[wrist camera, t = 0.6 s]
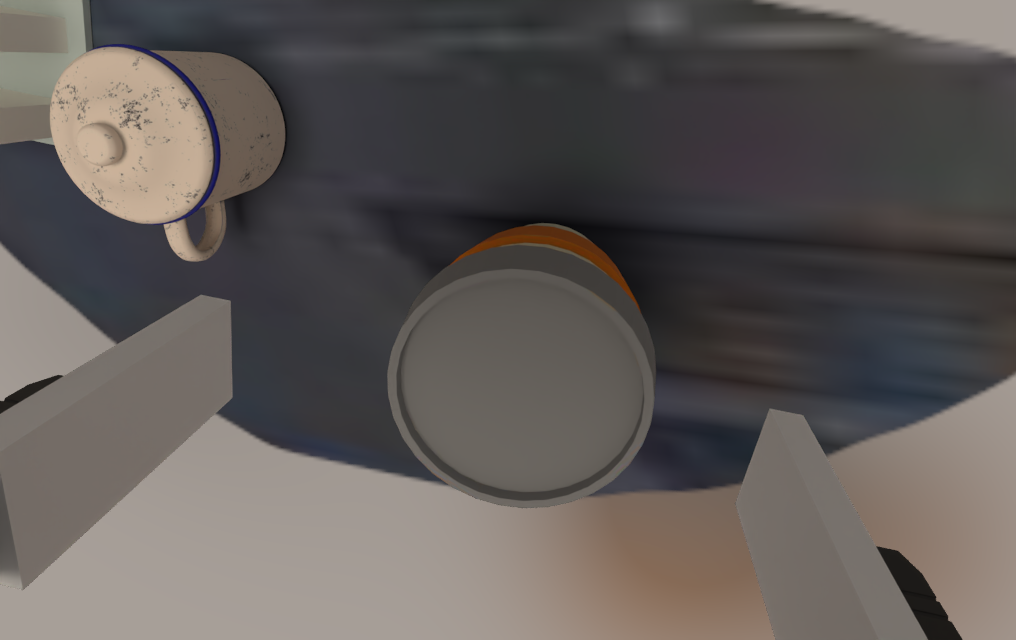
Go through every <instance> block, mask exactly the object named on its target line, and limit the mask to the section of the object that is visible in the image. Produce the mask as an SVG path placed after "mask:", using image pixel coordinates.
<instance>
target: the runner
mask: <svg viewBox="0 0 1016 640" xmlns="http://www.w3.org/2000/svg"><path fill="white" fill-rule="evenodd" d="M0 6H4V7H9V8H15V9H20V10H25V11H30V12H35V13H40V14H45V15H50V16H55V17H60V18H66V29H67V41H68V53H37V52H0V88H3V89H8V90H12V91H17V92H22V93H27V94H32V95H37V96H42V97H47V98H52V94H53V91H54V88H55V85H56V83H57V81H58V79H59V77H60V76H61V74H62V73H63V71H64V70H65V69H66V68H67V66H68V65H69V64H70V63H71V62H72V61H74V60H75V59H76V58H78V57H79V56H81V55H82V54H84V53H86V52H88V51H89V50H91V49H93V44H92V29H91V15H90V0H0ZM32 141H37V142H42V143H47V144H52V145H54V142H53V138H52V137H51V138H44V139H36V140H32Z"/></svg>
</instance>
